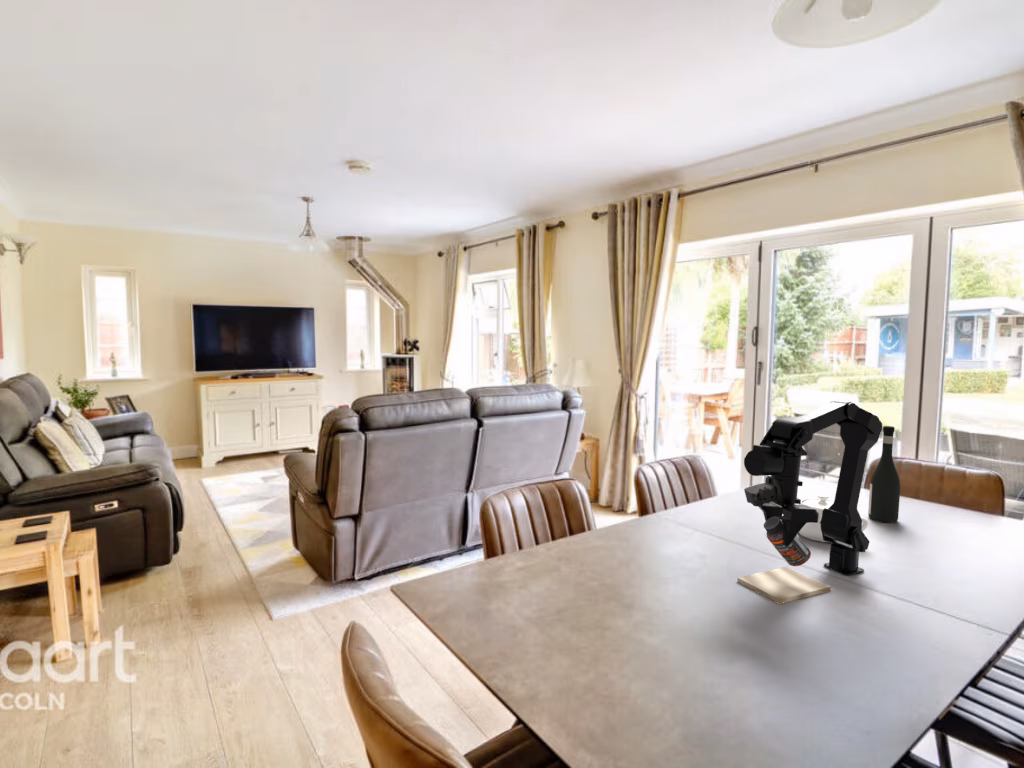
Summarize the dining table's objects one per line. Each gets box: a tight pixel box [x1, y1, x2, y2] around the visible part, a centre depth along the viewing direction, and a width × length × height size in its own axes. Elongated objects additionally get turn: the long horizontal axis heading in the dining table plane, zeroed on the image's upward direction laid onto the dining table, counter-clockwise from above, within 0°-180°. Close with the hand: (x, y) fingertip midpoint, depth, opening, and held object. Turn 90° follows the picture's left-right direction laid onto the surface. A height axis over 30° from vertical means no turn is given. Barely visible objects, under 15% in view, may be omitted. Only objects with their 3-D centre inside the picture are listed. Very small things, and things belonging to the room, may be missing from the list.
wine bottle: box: [867, 425, 901, 524], centre depth 175 cm, size 8×8×30 cm
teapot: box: [798, 494, 869, 543], centre depth 161 cm, size 25×16×12 cm, turn 40°
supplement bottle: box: [763, 517, 812, 567], centre depth 128 cm, size 6×6×11 cm
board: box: [737, 566, 832, 605], centre depth 129 cm, size 16×12×1 cm
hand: (778, 540), depth 128 cm, fingers closed on supplement bottle, 6 cm apart
